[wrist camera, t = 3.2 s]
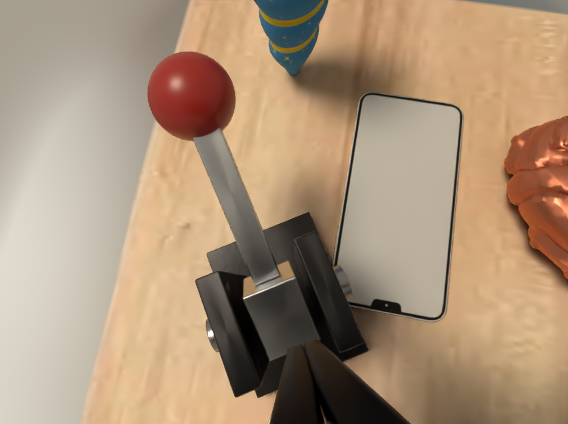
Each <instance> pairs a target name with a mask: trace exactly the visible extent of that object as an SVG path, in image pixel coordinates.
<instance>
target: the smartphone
mask: <svg viewBox="0 0 568 424" xmlns="http://www.w3.org/2000/svg"><path fill="white" fill-rule="evenodd" d="M462 130H463V112H462V110H461V109H460V108H459V107H458V106H456V105H454V104H450V103H444V102H438V101H431V100H424V99H418V98H411V97H404V96H397V95H391V94H384V93H377V92H368V93H365V94H364V95H362V96H361V98H360V100H359V103H358V107H357V114H356V120H355V126H354V133H353V139H352V145H351V151H350V158H349V164H348V170H347V177H346V183H345V189H344V195H343V202H342V208H341V214H340V221H339V225H338V230H337V236H336V242H335V248H334V249H335V252H334V258H333V265H332V266H333V267H334V266H336V265H340V266H341V267H342V268H343V270H344V272H345V274H346V276H347V278H348V280H349V283H350V285H351V288H352V292H353V296H351V297H349V298H347V301H348V303H349V306H351V307H356V308H361V309H366V310H371V311H376V312H381V313H387V314H392V315H397V316H402V317H407V318H412V319H418V320H423V321H428V322H435V321H438V320H440V319H441V318H442V317H443V316H444V315H445V312H446V308H447V298H448V287H449V276H450V265H451V253H452V242H453V231H454V220H455V209H456V197H457V186H458V175H459V164H460V152H461V141H462ZM350 161H351V162H350ZM347 180H348V181H347ZM344 199H345V200H344ZM342 212H343V213H342ZM341 218H342V219H341ZM339 231H340V232H339ZM338 237H339V238H338ZM336 250H337V251H336Z"/></svg>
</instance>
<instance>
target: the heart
mask: <svg viewBox="0 0 568 424" xmlns="http://www.w3.org/2000/svg"><path fill="white" fill-rule="evenodd" d="M511 144H512V145H511V147H510V150H509V153H508V158H506V159H505V162H504V166H505V168H506V169H507V173H508V174H511V175H513V177H512V178H511V179H510V181H509V183H508V185H507V193H508V198H509V200H510V202H511V203H513V204H514V205H515V206H519V209H518V210H519V212H520V214H521V216H522V217H523V219H524V220H525V221H526V223H527V224H528V225H529V229H528V235H529V237H530V242H529V243H530V244H531V246H532V247H533V248H534V249H538V250H540V251H541V252H542V253H543V254H544V255H546V256H547V257H548V258H549V259H550V260H552V261H553V262H554V263H555V264H556V265H557V266H558V267H559V268H560V269H561V270H562V271H563V272H564V277H565V278H567V279H568V116H566V117H562V118H561V119H556V120H553V121H550V122H547V123H544V124H542V125H540V126H536V127H533V128H530V129H528V130H526V131H524V132H522V133H521V134H520V135H518V136H514V137H513V138H512V140H511Z"/></svg>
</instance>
